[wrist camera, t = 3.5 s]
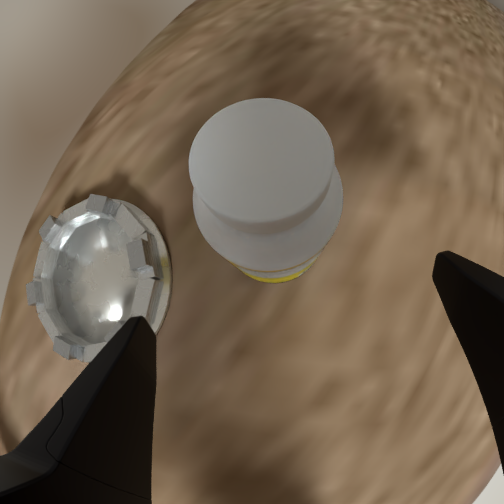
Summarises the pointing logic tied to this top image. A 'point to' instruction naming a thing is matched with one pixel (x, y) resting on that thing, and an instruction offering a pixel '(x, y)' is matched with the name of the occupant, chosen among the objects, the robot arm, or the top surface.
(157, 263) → the steel ashtray
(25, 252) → the top surface
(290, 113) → the pill bottle
